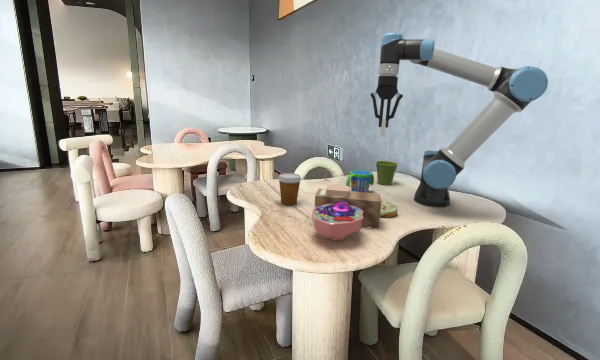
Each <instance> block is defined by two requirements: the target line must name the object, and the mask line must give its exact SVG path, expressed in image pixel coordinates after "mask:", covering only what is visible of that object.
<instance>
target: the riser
mask: <svg viewBox="0 0 600 360" xmlns="http://www.w3.org/2000/svg"><path fill="white" fill-rule="evenodd" d="M337 201H345V202H347V203H348V204H349V205H351V206H356V207H358V208H360V209H362V210H363V220H362V227H361V228H366V227H371V228H370V229H375V228H379V227H380V218H381V217H380V210H381V201H382V198H381V193H374V192H367V193H366V192H354V191H351V190H349V195H348V197H344V196H333V195H326V188H317V191H316V193H315V196H314V208H315V207H316V206H320V205H323V204H335V202H337ZM379 229H380V228H379Z"/></svg>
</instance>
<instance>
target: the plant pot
mask: <svg viewBox="0 0 600 360" xmlns="http://www.w3.org/2000/svg"><path fill="white" fill-rule="evenodd" d="M374 163H375V165H376V175H377V177H376V178H377V184H379V185H381V186H391V185H392V183H393V179H394V177H395V174H396V170H397V168H398V166H399V163H397V162H395V161H388V160H376V161H375V162H374Z"/></svg>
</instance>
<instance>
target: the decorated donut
mask: <svg viewBox="0 0 600 360" xmlns="http://www.w3.org/2000/svg"><path fill="white" fill-rule="evenodd" d="M398 211H399V210H398V206H397V205H395V204H393V203H391V202H389V201H385V200H381V210H380V216H382V217H381V218H394V217H395V216H396V215H397V214H398Z"/></svg>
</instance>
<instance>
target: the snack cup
mask: <svg viewBox="0 0 600 360" xmlns="http://www.w3.org/2000/svg"><path fill="white" fill-rule="evenodd" d="M374 184H375V177H374V174H373V172H371V171H369V170H364V169H353V170H349V174H348V177H347V179H346V183H345V186H349V189H351V190H350V191H354V192H366V193H369V192H368V191H369V188H370V186H373V185H374Z"/></svg>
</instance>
